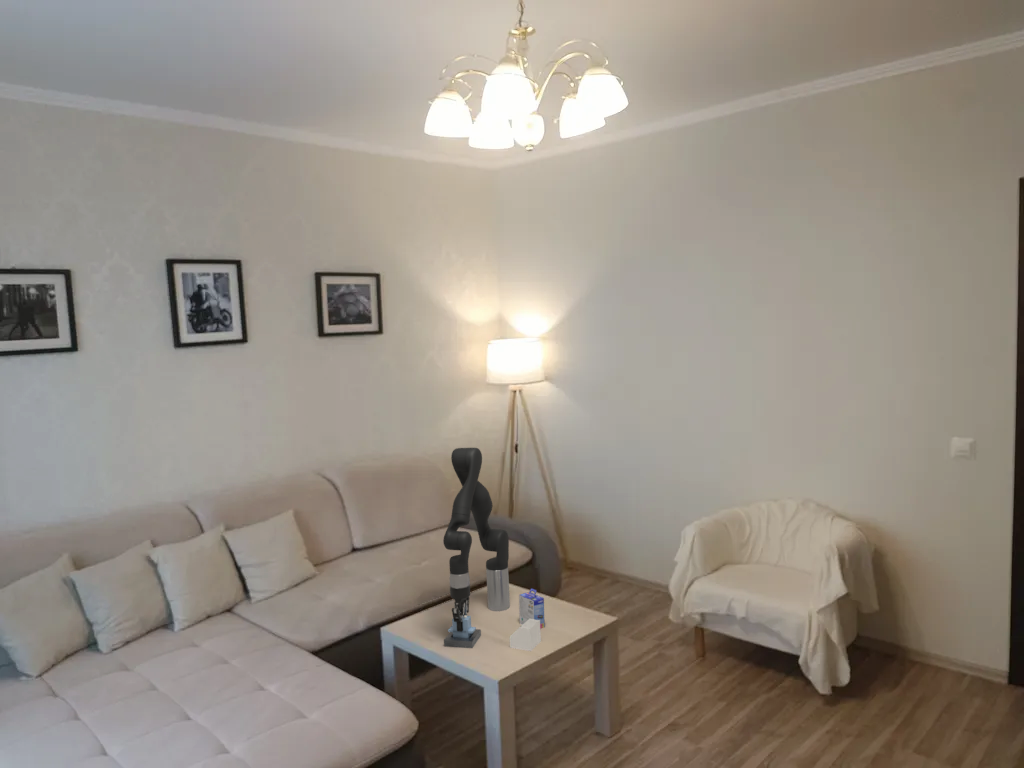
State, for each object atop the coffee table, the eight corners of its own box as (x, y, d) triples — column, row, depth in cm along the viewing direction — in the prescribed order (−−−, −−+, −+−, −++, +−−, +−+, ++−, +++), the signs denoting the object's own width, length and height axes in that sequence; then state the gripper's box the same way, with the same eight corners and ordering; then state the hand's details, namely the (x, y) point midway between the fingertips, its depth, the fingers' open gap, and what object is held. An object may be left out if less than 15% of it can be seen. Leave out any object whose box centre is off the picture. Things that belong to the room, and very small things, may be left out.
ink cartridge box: (545, 628, 276) (544, 591, 275) (534, 632, 272) (533, 595, 272) (530, 621, 284) (528, 585, 283) (519, 624, 280) (517, 588, 279)
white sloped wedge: (548, 635, 269) (547, 613, 268) (530, 651, 256) (529, 628, 255) (528, 632, 273) (527, 610, 272) (510, 648, 260) (508, 625, 259)
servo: (452, 634, 270) (451, 612, 270) (476, 635, 268) (475, 614, 267) (448, 638, 266) (447, 616, 266) (472, 640, 264) (471, 618, 264)
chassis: (453, 634, 274) (453, 627, 274) (481, 635, 271) (480, 629, 271) (444, 646, 263) (443, 639, 263) (472, 648, 261) (472, 641, 261)
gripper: (456, 577, 274) (458, 620, 275) (443, 589, 260) (446, 635, 261) (475, 578, 272) (477, 622, 273) (463, 590, 258) (465, 637, 259)
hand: (461, 628), depth 267 cm, fingers closed on servo, 4 cm apart
